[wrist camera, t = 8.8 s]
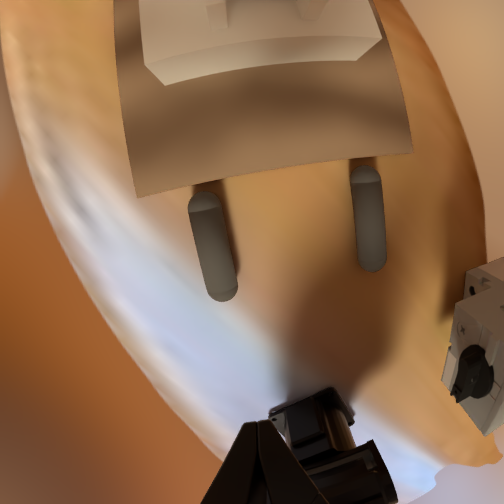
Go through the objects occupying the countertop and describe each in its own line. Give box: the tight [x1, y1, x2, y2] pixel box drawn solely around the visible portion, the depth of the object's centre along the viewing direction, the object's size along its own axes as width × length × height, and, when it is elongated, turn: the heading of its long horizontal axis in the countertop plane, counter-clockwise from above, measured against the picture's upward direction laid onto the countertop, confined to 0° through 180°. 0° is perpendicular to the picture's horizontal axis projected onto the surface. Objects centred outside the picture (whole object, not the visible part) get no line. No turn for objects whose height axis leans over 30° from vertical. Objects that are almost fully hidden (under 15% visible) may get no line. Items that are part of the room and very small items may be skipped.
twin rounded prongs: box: [188, 165, 387, 302], centre depth 17 cm, size 7×12×2 cm, turn 100°
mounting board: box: [114, 0, 414, 198], centre depth 14 cm, size 20×18×1 cm
